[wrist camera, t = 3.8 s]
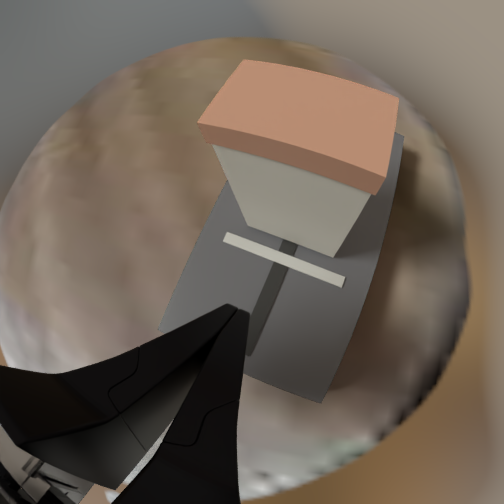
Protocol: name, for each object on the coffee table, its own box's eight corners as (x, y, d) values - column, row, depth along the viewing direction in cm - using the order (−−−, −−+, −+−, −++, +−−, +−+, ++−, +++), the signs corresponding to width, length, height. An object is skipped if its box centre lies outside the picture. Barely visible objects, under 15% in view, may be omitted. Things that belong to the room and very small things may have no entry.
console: (317, 394, 14) (321, 404, 12) (171, 329, 17) (156, 329, 15) (396, 151, 18) (404, 135, 16) (276, 112, 20) (274, 94, 18)
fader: (334, 260, 14) (385, 177, 6) (245, 226, 15) (196, 122, 7) (351, 208, 15) (398, 98, 6) (267, 179, 16) (243, 59, 8)
